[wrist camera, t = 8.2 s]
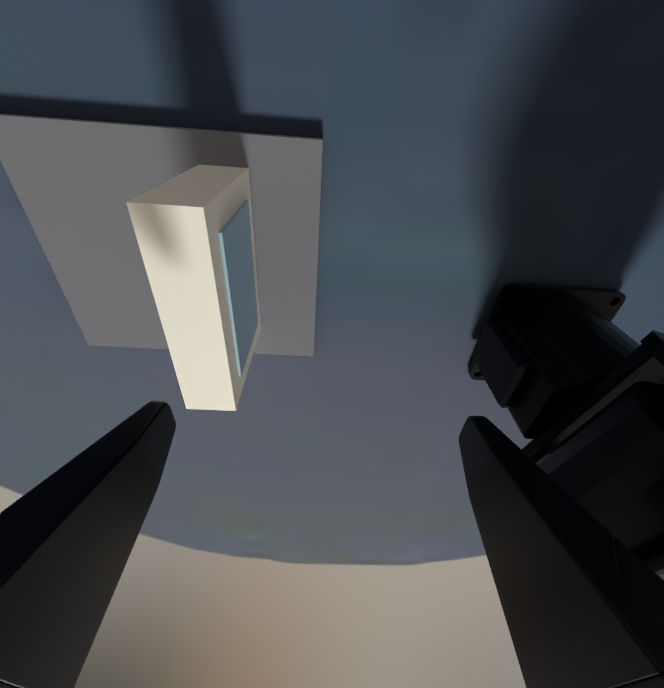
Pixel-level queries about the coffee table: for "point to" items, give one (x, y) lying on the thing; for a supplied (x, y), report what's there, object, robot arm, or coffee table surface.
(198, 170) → the cream rectangular frame
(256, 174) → the mat
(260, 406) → the coffee table surface
